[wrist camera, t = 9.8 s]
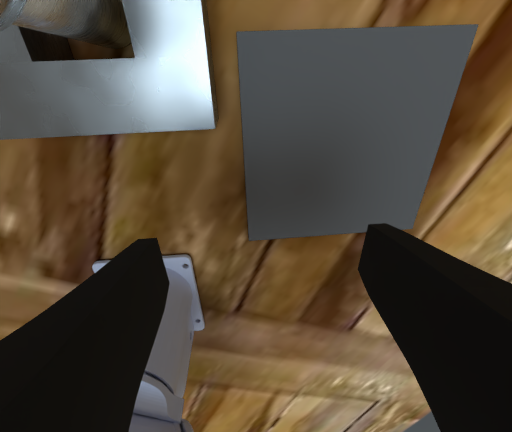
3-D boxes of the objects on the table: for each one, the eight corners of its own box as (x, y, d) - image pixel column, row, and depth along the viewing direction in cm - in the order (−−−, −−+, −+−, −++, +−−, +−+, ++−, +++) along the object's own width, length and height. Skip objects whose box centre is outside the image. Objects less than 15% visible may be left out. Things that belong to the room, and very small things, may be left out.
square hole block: (218, 118, 16) (215, 128, 13) (42, 127, 16) (-5, 139, 13) (190, -152, 11) (174, -242, 8) (-82, -154, 10) (-216, -253, 7)
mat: (409, 226, 22) (412, 228, 21) (248, 238, 21) (248, 240, 21) (472, 25, 15) (478, 24, 14) (236, 32, 14) (236, 31, 14)
